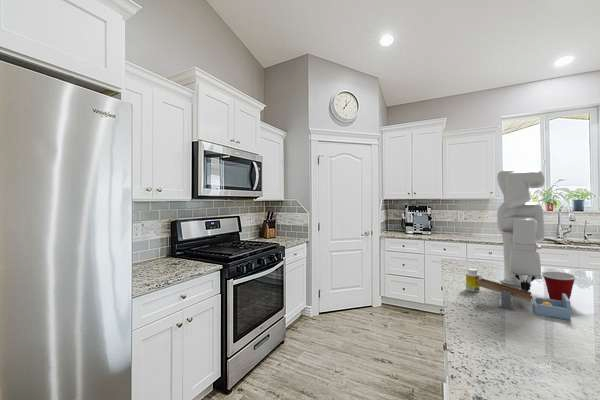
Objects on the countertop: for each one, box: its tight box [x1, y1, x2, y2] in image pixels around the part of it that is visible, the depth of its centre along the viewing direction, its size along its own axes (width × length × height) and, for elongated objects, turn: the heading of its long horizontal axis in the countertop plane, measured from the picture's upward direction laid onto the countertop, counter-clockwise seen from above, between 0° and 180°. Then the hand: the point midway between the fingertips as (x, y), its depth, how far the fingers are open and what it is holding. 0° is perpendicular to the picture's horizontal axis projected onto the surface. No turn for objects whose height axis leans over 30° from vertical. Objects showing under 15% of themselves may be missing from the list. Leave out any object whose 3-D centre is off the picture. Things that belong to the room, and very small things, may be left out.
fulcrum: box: [498, 284, 515, 311], centre depth 114 cm, size 10×5×7 cm, turn 143°
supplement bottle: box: [465, 268, 481, 293], centre depth 134 cm, size 6×6×10 cm
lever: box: [477, 275, 533, 303], centre depth 117 cm, size 12×18×3 cm
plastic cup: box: [541, 270, 577, 301], centre depth 117 cm, size 11×11×12 cm
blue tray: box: [531, 293, 572, 322], centre depth 106 cm, size 10×10×7 cm
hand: (525, 291), depth 115 cm, fingers closed
